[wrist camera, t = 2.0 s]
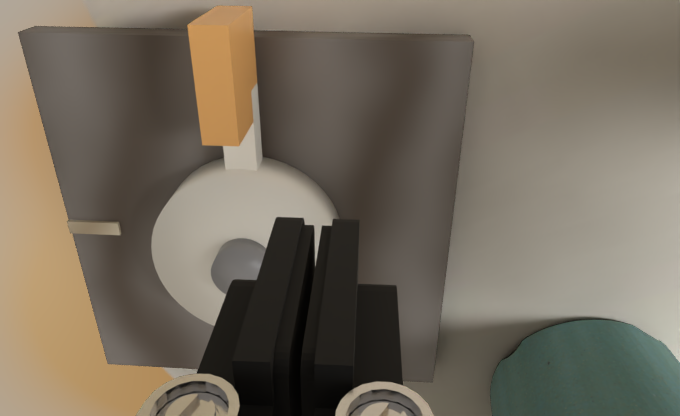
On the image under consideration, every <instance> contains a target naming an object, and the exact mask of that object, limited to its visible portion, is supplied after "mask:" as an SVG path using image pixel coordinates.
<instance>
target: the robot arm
mask: <svg viewBox="0 0 680 416" xmlns="http://www.w3.org/2000/svg"><path fill="white" fill-rule="evenodd" d="M359 230H360V220H358V219H333V221H332V226H323V225H322V228H321V234H320V241H319V247H318V253H317V260H316V266H315V231H314V225H305V222H304V218H295V217H276V219H275V222H274V225H273V228H272V232H271V235H270V238H269V241H268V244H267V248H266V251H265V254H264V257H263V261H262V264H261V267H260V270H259V274H258V277H257V280H242V279H234V280H233V281H232V282H231V284H230V286H229V288H228V291H227V294H226V296H225V299H224V302H223V304H222V307H221V310H220V312H219V315H218V318H217V320H216V323H215V326H214V328H213V331H212V334H211V336H210V339H209V342H208V344H207V347H206V350H205V352H204V355H203V358H202V360H201V363H200V366H199V368H198V371H197V374H190V375H185V376H180V377H178V378H176V379H173V380H171V381H169V382H166V383H165V384H164V385H162V386H161V387H159V388H158V389H157V390H155V391H154V392H153V393H152V394H151V395H150V396H149V398H148V399H147V400H146V401H145V402H144V404H143V405H142V407H141V408H140V410H139V411H138V413H137V414H136V416H434V415H433V413H432V411H431V409H430V407H429V405H428V403H427V402H426V401H425V400H424V399H423V398H422V397H421V396H420V395H419V394H418V393H416V392H414V391H413V390H411V389H409V388H408V387H406V386H403V379H402V362H401V346H400V329H399V313H398V296H397V286H396V285H379V284H358V268H359Z"/></svg>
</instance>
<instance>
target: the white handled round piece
mask: <svg viewBox="0 0 680 416" xmlns="http://www.w3.org/2000/svg"><path fill="white" fill-rule="evenodd" d="M187 27H188V35H189V43H190V51H191V59H192V67H193V75H194V83H195V91H196V99H197V107H198V115H199V123H200V131H201V139H202V145H211V146H223V151H224V158H221V159H218V160H214V161H212V162H209V163H207V164H205V165H203V166H201V167H200V168H198V169H197V170H195V171H194V172H192V173H191V174H190V175H189V176H188V177H187V178H186V179H185V180H184V181H183V182H182V183H181V185H180V186H179V187H178V189H177V190H176V191H175V193H174V194H173V196H172V197H171V198H170V200H169V201H168V203H167V204H166V205H165V207H164V208H163V210H162V211H161V213H160V215H159V216H158V218H157V221H156V223H155V226H154V229H153V234H152V242H151V250H152V258H153V262H154V266H155V269H156V271H157V274H158V276H159V278H160V280H161V282H162V283H163V285H164V287H165V288H166V290H167V291H168V292H169V293H170V295H171V296H172V297H173V298H174V299H175V300H176V301H177V302H178V303H179V304H180V305H181V306H182V307H183V308H185V309H186V310H187V311H188V312H190V313H191V314H193V315H194V316H196V317H197V318H199V319H201V320H203V321H204V322H206V323H208V324H211V325H213V326H215V323H216V320H217V318H218V315H219V312H220V310H221V307H222V304H223V302H224V299H225V296H226V294H227V291H228V288H229V286H230V284H231V282H232V281H233V280H234V279H242V280H257V277H258V274H259V270H260V267H261V264H262V261H263V257H264V254H265V251H266V248H267V244H268V241H269V238H270V235H271V232H272V228H273V225H274V222H275V219H276V217H295V218H304V222H305V225H314V231H315V266H316V260H317V253H318V247H319V241H320V234H321V228H322V225H323V226H332V221H333V219H339V216H338V213H337V211H336V209H335V207H334V205H333V203H332V201H331V200H330V199H329V197H328V196H327V194H326V193H325V192H324V191H323V190H322V188H321V187H320V186H319V185H318V184H317V183H316V182H314V181H313V180H312V179H311V178H310V177H308V176H307V175H306V174H304V173H302V172H301V171H299V170H298V169H296V168H294V167H292V166H290V165H288V164H286V163H283V162H280V161H277V160H274V159H270V158H266V157H262V144H261V129H260V114H259V100H258V85H257V71H256V56H255V42H254V27H253V12H252V6H216V7H214V8H213V9H211V10H210V11H208V12H207V13H205V14H203V15H202V16H200V17H199V18H197V19H195V20H194V21H192V22H191V23H189V24H188V25H187Z"/></svg>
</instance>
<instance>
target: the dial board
mask: <svg viewBox="0 0 680 416" xmlns="http://www.w3.org/2000/svg"><path fill="white" fill-rule="evenodd" d="M18 34H19V38H20V42H21V45H22V49H23V53H24V56H25V60H26V64H27V68H28V71H29V75H30V79H31V82H32V86H33V89H34V93H35V97H36V101H37V104H38V108H39V112H40V115H41V119H42V123H43V127H44V130H45V134H46V137H47V141H48V145H49V148H50V152H51V156H52V159H53V164H54V167H55V171H56V175H57V178H58V182H59V186H60V189H61V193H62V197H63V200H64V204H65V208H66V211H67V215H68V219H69V220H68V221H67V223H68V227H69V230H70V233H72V234H73V237H74V241H75V245H76V248H77V252H78V256H79V259H80V263H81V267H82V270H83V274H84V278H85V282H86V285H87V289H88V293H89V296H90V300H91V304H92V308H93V311H94V315H95V319H96V322H97V326H98V330H99V333H100V337H101V340H102V344H103V348H104V351H105V356H106V359H107V362H108V364H118V365H136V366H152V367H170V368H188V369H198V368H199V366H200V363H201V360H202V358H203V355H204V352H205V350H206V347H207V344H208V342H209V339H210V336H211V334H212V331H213V328H214V326H213V325H211V324H208V323H206V322H204V321H203V320H201V319H199V318H197V317H196V316H194V315H193V314H191V313H190V312H188V311H187V310H186V309H185V308H183V307H182V306H181V305H180V304H179V303H178V302H177V301H176V300H175V299H174V298H173V297H172V296H171V295H170V293H169V292H168V291H167V290H166V288H165V287H164V285H163V283H162V282H161V280H160V278H159V276H158V274H157V271H156V269H155V266H154V262H153V258H152V250H151V242H152V234H153V229H154V226H155V223H156V221H157V218H158V216H159V215H160V213H161V211H162V210H163V208H164V207H165V205H166V204H167V203H168V201H169V200H170V198H171V197H172V196H173V194H174V193H175V191H176V190H177V189H178V187H179V186H180V185H181V183H182V182H183V181H184V180H185V179H186V178H187V177H188V176H189V175H190V174H191V173H192V172H194V171H195V170H197V169H198V168H200V167H201V166H203V165H205V164H207V163H209V162H212V161H214V160H218V159H221V158H224V151H223V146H211V145H202V139H201V131H200V123H199V115H198V107H197V99H196V91H195V83H194V75H193V67H192V59H191V51H190V43H189V35H188V29H148V28H99V27H47V26H34V27H31V28H29V29H26V30H23V31H20V32H18ZM254 42H255V56H256V71H257V85H258V100H259V114H260V129H261V144H262V157H266V158H270V159H274V160H277V161H280V162H283V163H286V164H288V165H290V166H292V167H294V168H296V169H298V170H299V171H301V172H302V173H304V174H306V175H307V176H308V177H310V178H311V179H312V180H313V181H314V182H316V183H317V184H318V185H319V186H320V187H321V188H322V190H323V191H324V192H325V193H326V194H327V196H328V197H329V199H330V200H331V201H332V203H333V205H334V207H335V209H336V211H337V213H338V216H339V219H358V220H360V230H359V268H358V284H379V285H396V286H397V296H398V313H399V329H400V346H401V362H402V379H403V381H417V382H433V376H434V368H435V359H436V351H437V343H438V335H439V326H440V318H441V310H442V302H443V293H444V285H445V277H446V269H447V260H448V252H449V244H450V235H451V227H452V219H453V211H454V202H455V194H456V186H457V178H458V169H459V161H460V153H461V145H462V136H463V128H464V120H465V112H466V103H467V95H468V87H469V79H470V70H471V62H472V54H473V45H474V41H473V40H472V38H471V36H470V35H445V34H396V33H346V32H297V31H254Z"/></svg>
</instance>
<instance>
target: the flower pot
mask: <svg viewBox="0 0 680 416" xmlns="http://www.w3.org/2000/svg"><path fill="white" fill-rule="evenodd" d="M490 398H491V409H492V416H680V363H679V361H678V360H677V359H676V358H675V356H674V355H673V354H672V353H671V351H670V350H669V349H668V348H667V346H666V345H665V344H663V343H662V342H661V341H658V340H656V339H654V338H653V337H651V336H649V335H648V334H646V333H644V332H643V331H641V330H640V329H638V328H637V327H635V326H633V325H630V324H626V323H623V322H617V321H612V320H579V321H572V322H567V323H562V324H558V325H555V326H551V327H548V328H546V329H543V330H541V331H538V332H536V333H534V334H532V335H530V336H529V337H527V338H525V339H524V340H523V341H522V342H521V344H520V345H519V347H518V348H517V350H516V351H515V352H514V353H513V354H512V355H511V356H509V357H508V358H506V359H503V360H501V362H500V363H499V365H498V366H497V368H496V370H495V373H494V375H493V378H492V382H491V389H490Z"/></svg>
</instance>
